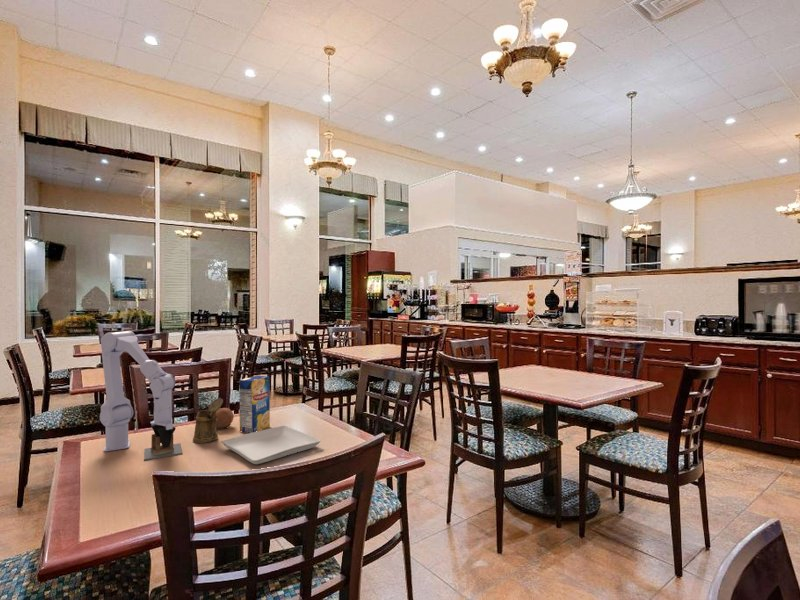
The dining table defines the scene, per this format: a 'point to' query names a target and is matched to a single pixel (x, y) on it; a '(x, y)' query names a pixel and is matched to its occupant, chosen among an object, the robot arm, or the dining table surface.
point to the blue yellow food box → (254, 403)
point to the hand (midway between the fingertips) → (163, 445)
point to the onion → (224, 418)
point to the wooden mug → (207, 423)
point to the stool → (159, 449)
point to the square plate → (270, 444)
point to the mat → (150, 455)
